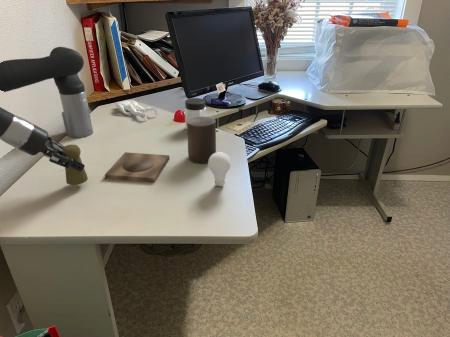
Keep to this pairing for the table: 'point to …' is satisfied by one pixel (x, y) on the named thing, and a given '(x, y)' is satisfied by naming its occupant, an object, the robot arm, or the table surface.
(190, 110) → the jar
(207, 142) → the pillar candle
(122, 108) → the superhero figure
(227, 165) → the light bulb
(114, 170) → the walnut board
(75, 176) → the cork
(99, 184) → the table surface
